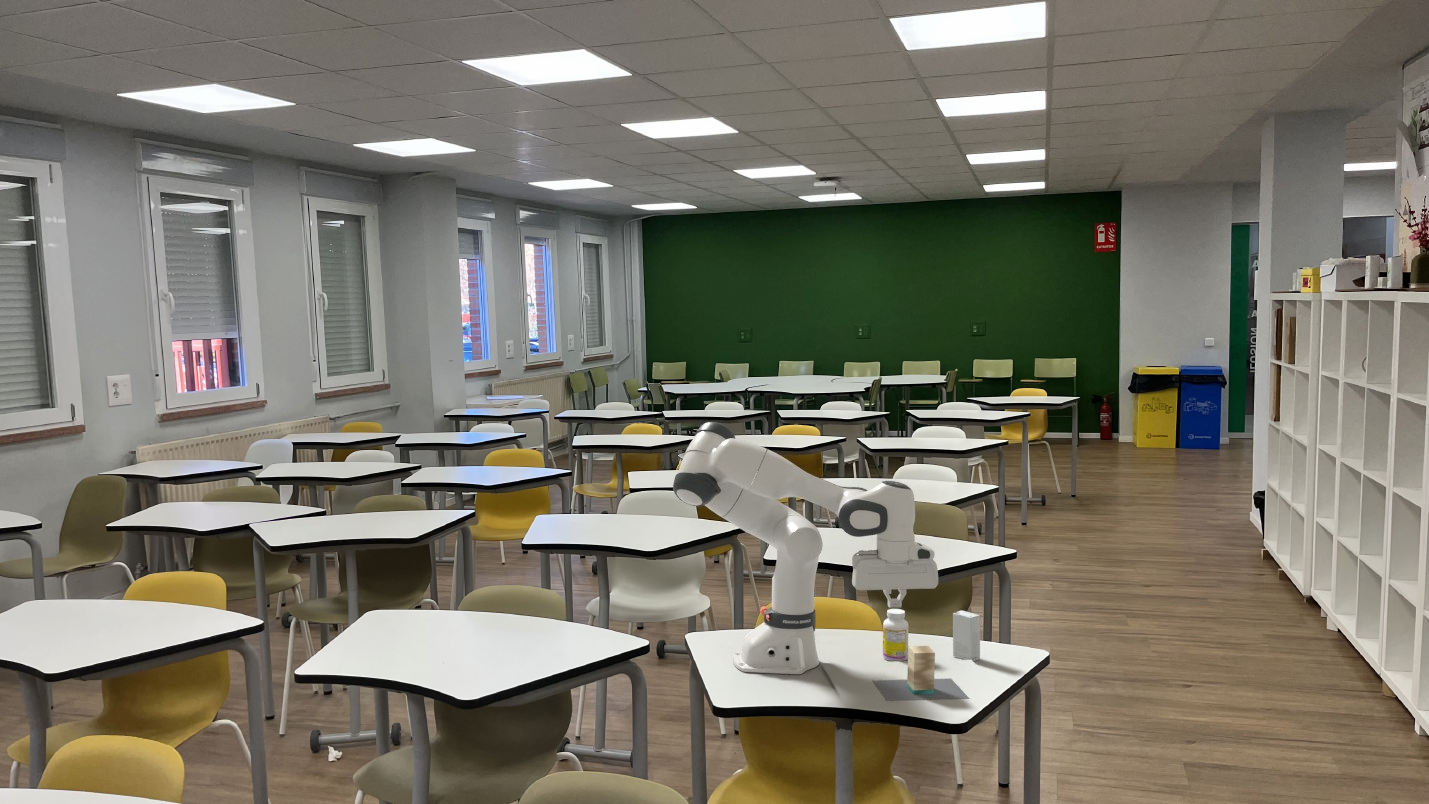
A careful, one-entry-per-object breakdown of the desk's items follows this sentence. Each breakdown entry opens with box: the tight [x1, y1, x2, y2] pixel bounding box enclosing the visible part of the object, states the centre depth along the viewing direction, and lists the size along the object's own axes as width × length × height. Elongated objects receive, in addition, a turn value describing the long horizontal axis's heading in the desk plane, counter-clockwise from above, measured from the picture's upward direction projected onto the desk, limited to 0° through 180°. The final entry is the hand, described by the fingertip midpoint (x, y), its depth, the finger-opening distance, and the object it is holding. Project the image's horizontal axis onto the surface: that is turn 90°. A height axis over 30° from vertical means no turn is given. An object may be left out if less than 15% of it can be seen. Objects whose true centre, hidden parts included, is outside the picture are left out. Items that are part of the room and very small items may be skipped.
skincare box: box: [952, 610, 981, 662], centre depth 257 cm, size 6×4×12 cm
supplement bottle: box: [882, 608, 909, 663], centre depth 256 cm, size 7×7×13 cm
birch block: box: [906, 645, 936, 694], centre depth 231 cm, size 5×5×10 cm
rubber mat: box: [872, 677, 971, 702], centre depth 232 cm, size 20×13×1 cm, turn 95°
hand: (894, 606), depth 230 cm, fingers closed
